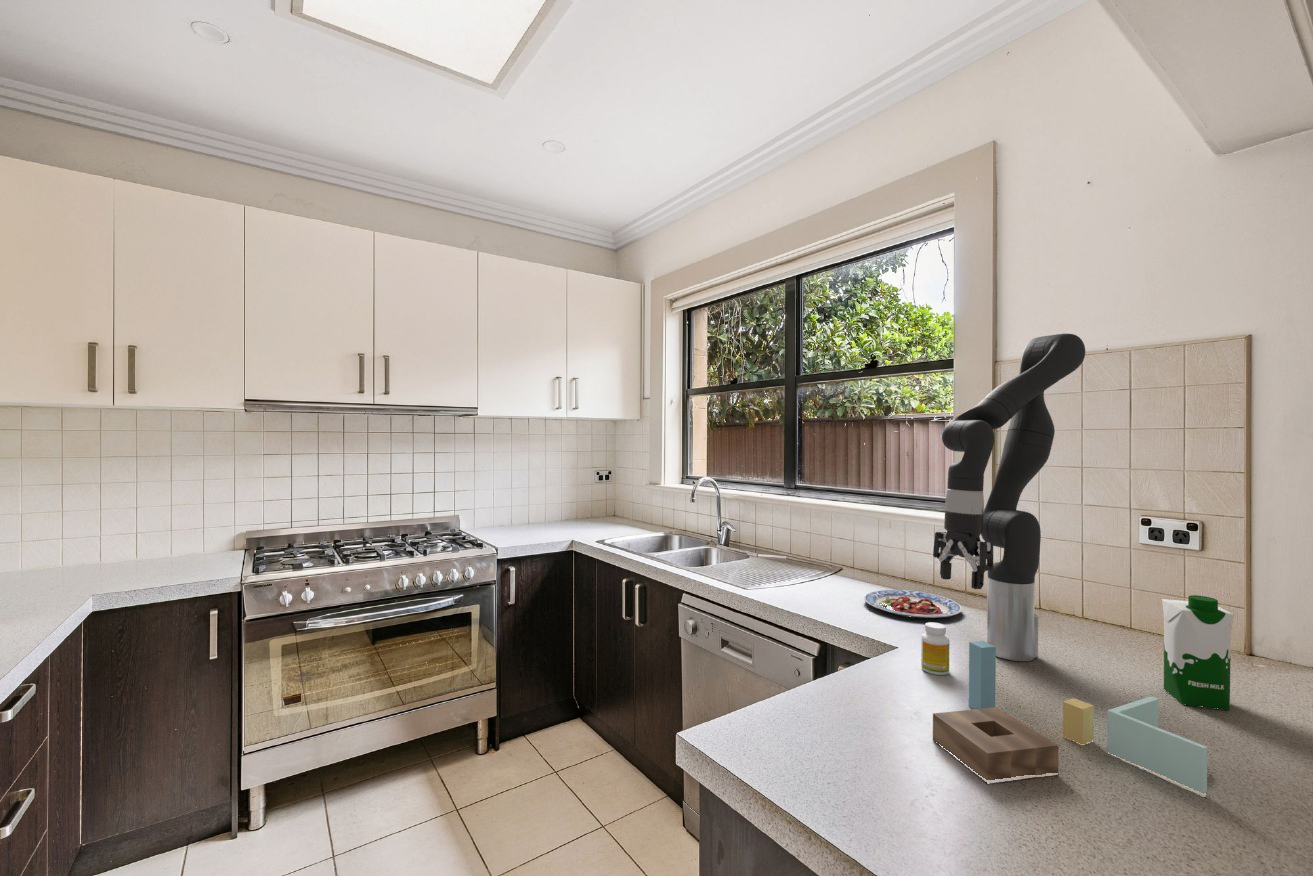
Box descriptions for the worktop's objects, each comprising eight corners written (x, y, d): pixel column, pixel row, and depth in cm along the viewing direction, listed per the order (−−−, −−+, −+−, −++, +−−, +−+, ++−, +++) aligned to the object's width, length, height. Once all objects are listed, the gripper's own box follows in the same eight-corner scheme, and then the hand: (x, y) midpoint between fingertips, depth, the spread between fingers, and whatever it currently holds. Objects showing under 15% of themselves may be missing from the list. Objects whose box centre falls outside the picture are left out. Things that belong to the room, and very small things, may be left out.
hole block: (996, 733, 97) (996, 707, 97) (1058, 775, 85) (1058, 745, 85) (932, 740, 95) (932, 713, 95) (987, 784, 83) (987, 753, 83)
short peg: (1073, 733, 97) (1073, 698, 97) (1093, 741, 95) (1093, 705, 94) (1062, 737, 96) (1063, 701, 96) (1082, 746, 93) (1082, 709, 93)
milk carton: (1179, 706, 107) (1180, 599, 107) (1155, 686, 115) (1156, 587, 115) (1239, 714, 104) (1240, 604, 104) (1210, 693, 112) (1211, 591, 112)
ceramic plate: (965, 605, 170) (965, 595, 170) (957, 630, 148) (957, 619, 148) (874, 592, 184) (874, 583, 184) (854, 613, 162) (854, 603, 162)
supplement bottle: (952, 676, 120) (953, 630, 120) (924, 674, 121) (925, 628, 121) (945, 666, 125) (945, 622, 125) (918, 664, 126) (918, 620, 126)
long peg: (982, 704, 107) (983, 640, 107) (995, 712, 104) (995, 646, 104) (968, 706, 107) (969, 641, 107) (980, 714, 104) (981, 647, 104)
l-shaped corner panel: (1203, 802, 80) (1204, 748, 80) (1107, 757, 91) (1107, 710, 91) (1247, 781, 85) (1247, 730, 85) (1150, 741, 96) (1150, 696, 96)
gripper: (1005, 515, 121) (1001, 591, 121) (952, 506, 135) (949, 575, 135) (977, 514, 119) (973, 593, 119) (926, 506, 133) (923, 576, 133)
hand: (960, 583), depth 127 cm, fingers open, 8 cm apart
